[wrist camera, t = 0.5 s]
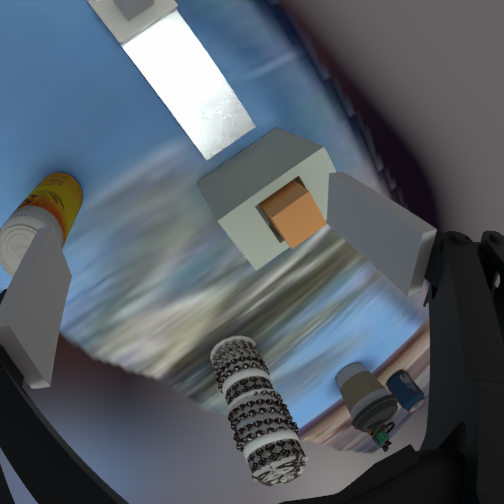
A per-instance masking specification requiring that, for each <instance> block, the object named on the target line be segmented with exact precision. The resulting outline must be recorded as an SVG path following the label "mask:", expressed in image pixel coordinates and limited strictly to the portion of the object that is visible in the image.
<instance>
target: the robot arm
mask: <svg viewBox="0 0 504 504" xmlns="http://www.w3.org/2000/svg"><path fill="white" fill-rule="evenodd" d="M327 224H328V225H329V226H330V227H332V228H333V229H334V230H335V231H336V232H337V233H339V234H340V235H341V236H342V237H343V238H344V239H345V240H346V241H348V242H349V243H350V244H351V245H352V246H353V247H354V248H355V249H357V250H358V251H359V252H360V253H361V254H362V255H363V256H364V257H365V258H367V259H368V260H369V261H370V262H371V263H372V264H373V265H374V266H375V267H376V268H377V269H379V270H380V271H381V272H382V273H383V274H384V275H385V276H386V277H387V278H388V279H389V280H390V281H391V282H392V283H393V284H395V285H396V286H397V287H398V288H399V289H400V290H401V291H402V292H403V293H404V294H405V295H406V296H410V295H412V294H415V293H417V292H420V291H421V289H422V285H423V282H424V278H425V279H426V280H428V281H429V282H430V286H429V289H428V292H427V295H426V298H425V301H424V305H423V306H424V307H426V304H427V303H428V302H429V319H430V386H429V405H428V420H427V430H426V435H425V439H424V441H423V443H422V446H421V448H420V451H415V450H414V449H413V447H412V446H411V444H410V445H408V446H406V447H404V448H403V449H401V450H399V451H398V452H396V453H394V454H392V455H390V456H389V457H387V458H385V459H383V460H381V461H379V462H377V463H375V464H374V465H373V466H372V467H370V468H369V469H368V470H367V471H366V472H364V473H363V474H362V475H361V476H360V477H358V478H357V479H356V480H355V481H354V482H352V483H351V484H350V485H348V486H347V487H346V488H345V489H343V490H342V491H340V492H339V493H337V494H333V495H328V496H322V497H315V498H309V499H302V500H293V501H285V502H282V503H279V504H504V236H503V235H501V234H500V233H498V232H496V231H485V232H483V235H482V239H481V242H473V241H472V240H471V239H470V238H469V237H468V236H466V235H464V234H462V233H459V232H456V231H447V232H445V233H442V232H441V231H439V230H438V229H436V228H435V227H433V226H432V225H430V224H429V223H427V222H426V221H424V220H423V219H421V218H420V217H418V216H417V215H415V214H414V213H412V212H410V211H408V210H406V209H405V208H403V207H401V206H400V205H398V204H397V203H395V202H393V201H392V200H390V199H388V198H387V197H385V196H383V195H382V194H380V193H378V192H377V191H375V190H373V189H372V188H370V187H368V186H366V185H365V184H363V183H361V182H359V181H358V180H356V179H354V178H352V177H351V176H349V175H347V174H345V173H343V172H335V173H329V185H328V207H327ZM498 275H500V285H499V287H498V288H497V287H496V286H495V282H496V280H497V277H498ZM71 277H72V275H71V273H70V270H69V268H68V265H67V262H66V259H65V257H64V254H63V251H62V248H61V246H60V243H59V240H58V237H57V234H56V231H55V228H54V225H50V226H46V227H43V228H39V230H38V231H37V233H36V235H35V237H34V238H33V240H32V242H31V244H30V246H29V247H28V249H27V251H26V253H25V255H24V257H23V259H22V261H21V263H20V264H19V266H18V268H17V270H16V272H15V274H14V276H13V279H12V281H11V283H10V285H9V287H8V289H4V291H3V292H2V293H1V294H0V447H1V449H2V451H3V453H4V454H5V456H6V457H7V459H8V460H9V462H10V464H11V465H12V467H13V469H14V470H15V472H16V473H17V475H18V476H19V478H20V479H21V481H22V482H23V483H24V485H25V486H26V488H27V489H28V490H29V492H30V493H31V495H32V496H33V497H34V499H35V500H36V501H37V503H38V504H129V503H128V502H127V501H125V500H124V499H123V498H122V497H121V496H120V495H118V494H117V493H116V492H115V491H114V490H113V489H112V488H111V487H109V485H107V484H106V483H105V482H104V481H103V480H102V479H101V478H100V477H99V476H98V475H97V474H96V473H95V472H94V471H93V470H92V469H91V468H90V467H89V466H88V465H87V464H86V463H85V462H84V461H83V460H82V459H81V458H80V457H79V456H78V455H77V454H76V453H75V452H74V451H73V450H72V448H71V447H70V446H69V445H68V444H67V443H66V442H65V440H63V438H62V437H61V436H60V435H59V434H58V433H57V431H56V430H55V429H54V428H53V426H52V425H51V424H50V423H49V421H48V420H47V419H46V418H45V417H44V415H43V414H42V413H41V412H40V410H39V409H38V408H37V406H36V405H35V404H34V402H33V401H32V400H31V398H30V397H29V396H28V394H27V393H26V391H25V390H24V389H23V388H22V384H23V379H25V380H26V381H27V383H28V384H29V385H30V386H31V388H32V389H33V388H43V387H50V385H51V377H52V370H53V362H54V357H55V351H56V345H57V340H58V334H59V329H60V324H61V320H62V315H63V310H64V306H65V301H66V297H67V293H68V289H69V285H70V281H71ZM0 504H15V503H14V500H13V498H12V495H11V493H10V490H9V488H8V485H7V482H6V479H5V477H4V474H3V471H2V468H1V465H0Z"/></svg>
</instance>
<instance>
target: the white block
mask: <svg viewBox="0 0 504 504" xmlns="http://www.w3.org/2000/svg"><path fill="white" fill-rule="evenodd" d="M335 172H336V170H335V168H334V166H333V163H332V161H331V159H330V157H329V155H328V153H327V151H326V149H325V147H324V146H322V145H319V144H317V143H315V142H312V141H310V140H307V139H305V138H302V137H300V136H297V135H295V134H292V133H290V132H287V131H285V130H282V129H279V128H275V129H274V130H272V131H271V132H269V133H268V134H266V135H264V136H263V137H261V138H260V139H258V140H257V141H256V142H254V143H253V144H251V145H250V146H248V147H247V148H245V149H244V150H242V151H241V152H239V153H238V154H237V155H235V156H234V157H232V158H231V159H229V160H228V161H227V162H225V163H224V164H222V165H221V166H219V167H218V168H217V169H215V170H214V171H212V172H211V173H210V174H208V175H207V176H206V177H204V178H203V179H202V180H200V181H199V182H197V183H198V185H199V187H200V189H201V191H202V193H203V195H204V197H205V199H206V201H207V202H208V204H209V206H210V208H211V210H212V212H213V214H214V216H215V218H216V220H217V222H218V223H219V224H220V225H221V227H222V228H223V229H224V230H225V232H226V233H227V234H228V236H229V237H230V238H231V239H232V241H233V242H234V243H235V244H236V246H237V247H238V248H239V249H240V251H241V252H242V253H243V255H244V256H245V257H246V258H247V260H248V261H249V262H250V263H251V265H252V266H253V267H254V268H255V270H258V269H259V268H261V267H262V266H263V265H265V264H266V263H268V262H269V261H270V260H272V259H273V258H275V257H276V256H277V255H279V254H280V253H282V252H283V251H284V250H286V249H287V248H289V247H290V246H289V245H288V244H287V243H286V241H285V240H284V239H283V238H282V237H281V236H280V234H279V233H278V232H277V231H276V230H275V229H274V227H273V226H272V225H271V223H270V222H269V220H268V219H267V217H266V216H265V214H264V213H263V211H262V210H261V208H260V207H259V205H258V204H259V203H260V202H262V201H263V200H265V199H266V198H267V197H269V196H270V195H272V194H273V193H274V192H276V191H277V190H279V189H280V188H282V187H283V186H284V185H286V184H287V183H289V182H290V181H292V180H294V181H296V182H297V183H299V184H300V185H301V186H303V187H304V188H305V189H307V190H308V191H309V192H310V194H311V195H312V197H313V199H314V201H315V203H316V205H317V207H318V208H319V210H320V212H321V214H322V216H323V218H324V220H325V221H326V220H327V207H328V185H329V173H335Z"/></svg>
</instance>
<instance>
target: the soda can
mask: <svg viewBox="0 0 504 504" xmlns="http://www.w3.org/2000/svg"><path fill="white" fill-rule="evenodd" d="M387 386H388V389H389V390H390V391H391V393H392V394H394V395H396V398H397V401H398V402H399V404H400V405H401V406H402V408H403V409H404V410H405V411H407V412H409V413H413V412H415V411H416V410H418V409H419V408H420V407H421V406H422V405H423V404H424V403H425V401H426V400H425V397H424V393H423V392H422V391H421V390H420V388H419V387H418V386H417V385H416V383H415V382H414V381H413V380H412V378H411V377H410V376H409V375H408V373H407V372H405V371H398V372H396V373H394V374H393V375H392V376H391V377H390V378H389V379H388V381H387Z"/></svg>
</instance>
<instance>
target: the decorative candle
mask: <svg viewBox="0 0 504 504" xmlns="http://www.w3.org/2000/svg"><path fill="white" fill-rule="evenodd" d="M210 359H211V361H212V363H213V364H212V367H214V368H215V369H214V373H215V374H217V376H216V378H217V379H216V380H217V382H219V386H218V387H219V389H221V393H223V395H224V398H225V399H226V401H227V404H228V409H227V413H228V416H229V417H228V420H229V421H230V422H231V429H232V430H234V431H235V432H236V433H235V434H234V438H233V439H234V440H235V441H236V442H238V443H237V449H238V450H240V451H242V452H243V454H244V457H245V459H246V461H247V462H248V463H249V466H250V469H251V471H252V474H253V475H252V479H253V481H258V482H261V483H262V484H263V485H267V486H276V485H281V484H284V483H287V482H290V481H291V480H294V479H296V478H297V477H298V476H300V475H301V474H302V473H303V471H304V470H305V465H306V463H307V462H308V461H309V458H308V456H305V454H304V452H303V450H302V448H301V446H300V442H299V439H298V437H297V436H299V434H298V431H299V428H298V427H297V424H296V423H295V422H292V419H293V418H292V416H290V413H289V410H288V409H286V408H287V405H286V404H282V403H283V400H282V399H281V396H280V394H279V393H278V392H277V391H275V390H274V389H273V387H272V383H271V380H270V378H269V375H270V373H269V372H268V368H267V367H266V365H264V364H265V362H264V361H263V358H262V355H261V353H260V351H259V349H258V347H257V346H256V343H255V341H253V340H252V339H251V338H250V337H246V336H243V335H239V336H231V337H228V338H225V339H223V340H221V341H220V342H219V343H217V344H216V345H215V346H214V348H213V349H212V350H211V355H210ZM287 418H288V419H287ZM291 426H292V427H293V428H292V427H291ZM239 436H240V437H239Z"/></svg>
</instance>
